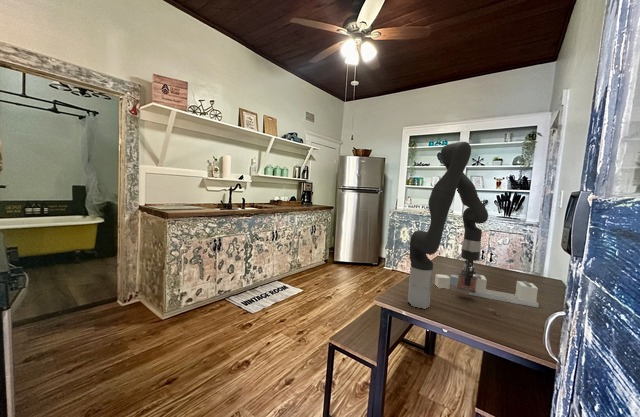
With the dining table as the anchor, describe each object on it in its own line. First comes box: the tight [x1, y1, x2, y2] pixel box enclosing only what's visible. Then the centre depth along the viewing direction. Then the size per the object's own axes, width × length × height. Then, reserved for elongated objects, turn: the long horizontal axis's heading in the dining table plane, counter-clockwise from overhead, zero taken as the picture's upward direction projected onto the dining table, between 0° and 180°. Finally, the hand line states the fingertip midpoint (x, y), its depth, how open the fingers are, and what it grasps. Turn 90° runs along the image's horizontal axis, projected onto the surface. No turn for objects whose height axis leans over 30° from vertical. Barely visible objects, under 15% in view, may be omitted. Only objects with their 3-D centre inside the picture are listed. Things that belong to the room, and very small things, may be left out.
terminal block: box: [450, 274, 458, 287], centre depth 139 cm, size 4×7×5 cm, turn 57°
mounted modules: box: [473, 273, 539, 303], centre depth 124 cm, size 7×26×8 cm, turn 67°
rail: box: [467, 288, 540, 308], centre depth 125 cm, size 7×28×2 cm, turn 67°
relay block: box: [434, 273, 451, 290], centre depth 136 cm, size 5×6×6 cm
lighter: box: [456, 269, 478, 293], centre depth 122 cm, size 8×3×10 cm, turn 62°
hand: (466, 283), depth 122 cm, fingers closed on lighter, 3 cm apart
